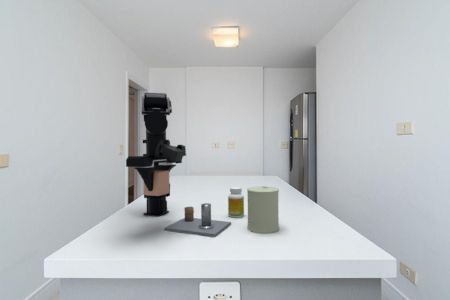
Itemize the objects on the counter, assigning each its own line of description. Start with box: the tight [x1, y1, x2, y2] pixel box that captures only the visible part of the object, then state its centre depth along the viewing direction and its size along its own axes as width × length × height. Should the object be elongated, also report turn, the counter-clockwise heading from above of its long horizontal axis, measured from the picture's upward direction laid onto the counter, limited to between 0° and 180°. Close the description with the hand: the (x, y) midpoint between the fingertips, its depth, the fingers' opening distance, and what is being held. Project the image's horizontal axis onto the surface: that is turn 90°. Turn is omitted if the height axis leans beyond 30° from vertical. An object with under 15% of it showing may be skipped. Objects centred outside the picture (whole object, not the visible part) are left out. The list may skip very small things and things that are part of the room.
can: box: [246, 186, 280, 234], centre depth 77 cm, size 9×9×12 cm
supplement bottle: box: [227, 186, 245, 219], centre depth 90 cm, size 5×5×10 cm
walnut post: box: [184, 206, 195, 222], centre depth 83 cm, size 3×3×4 cm
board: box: [163, 217, 232, 238], centre depth 78 cm, size 16×12×1 cm
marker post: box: [199, 202, 214, 229], centre depth 76 cm, size 4×4×6 cm
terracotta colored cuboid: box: [143, 170, 170, 196], centre depth 77 cm, size 5×5×7 cm
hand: (156, 189), depth 77 cm, fingers closed on terracotta colored cuboid, 5 cm apart
